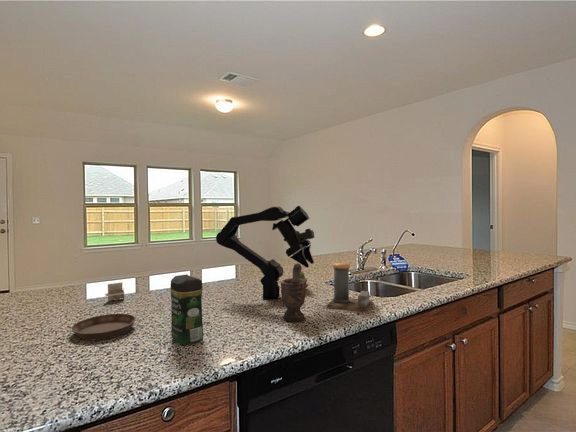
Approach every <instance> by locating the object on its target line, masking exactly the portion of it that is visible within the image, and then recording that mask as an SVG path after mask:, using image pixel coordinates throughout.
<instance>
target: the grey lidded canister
mask: <svg viewBox="0 0 576 432" xmlns="http://www.w3.org/2000/svg"><path fill="white" fill-rule="evenodd" d="M350 267H351V264H350V263H347V262H335V263H332V268H333V298H334V299H333V298H332V299H333V302H341V303H347V302H348V301H349V298H350V296H349V295H350V292H349V291H350V286H349V283H350V281H349V280H350V278H349V277H350V275H349V274H350Z"/></svg>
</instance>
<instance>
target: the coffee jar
mask: <svg viewBox="0 0 576 432" xmlns="http://www.w3.org/2000/svg"><path fill="white" fill-rule="evenodd" d="M202 295H203V282H202V279H200V278H197V277H194V276H191V275H189V274H186V273H185V274H181V275H180V274H179V275H175V276H173V277H172V279H171V280H170V299H171V300H170V301H171V302H170V303H171V304H170V305H171V306H170V307H171V308H170V309H171V327H170V328H171V329H170V333H171V338H172V340H173V341H174V342H176V343H177V344H180V345H193V344H195V343H198V342H200V341H201V340H203V338H204V325H203V324H204V323H203V304H202V302H203V300H202V299H203V298H202V297H203V296H202Z"/></svg>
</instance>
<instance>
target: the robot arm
mask: <svg viewBox="0 0 576 432" xmlns="http://www.w3.org/2000/svg"><path fill="white" fill-rule="evenodd" d="M308 220H310V217H309V214H308V213H307V211H305V209H304V208H302V207H301V205H297V206H296V207H294V209H292V210H291V211H290V212H289V211H285V210H284V208H282V207H281V206H271V207H269V208H266V209H263V210H262V211H259V212H256V213H255V212H254V213H251V214H250V213H249V214H244V215H240V216H239V215H238V216H232V217H230V218H229V220H228V221H227V223H226V224H225V225H224V226H223V228H221V230H220V231H219V232H218V233H216V236H215V241H216V243H217V244H218V245H219V246H222V247H224V248H226V249H229V250H233V251H235V252H236V254H238V255H240V256H241V257H242V258H244V259H245V260H247V261H248V262H250V263H251V264H253V265H254V266H255V267H257V268H258V269H259V270H260V272H261V273H262V275H263V277H262V278H261V279H260V280H259V281H260V284H261V286H262V300H278V299H279V297H280V296H281V291H280V284H279V280H280V278H282V276H283V275H284V267H283V266H282V264H281V263H279V262H278V261H276V260H275V259H274V258H271V259H270V260H268V259H265V258H264V257H262V256H261V255H260V254H258V253H257V252H255V251H254V250H252V249H251V248H249V247H248V246H247V245H245V244H244V243H243V242H241V241H240V240H239V237H238V236H237V233H238V230H239V227H240V226H241V225H246V224H252V223H257V222H273V223H272V229H271V230H272V231H275V230H278V231H279V233H280V234H281V235H282V237H283V241H284V242H286V243H287V245H288V246H289V247H288V248H287V249H286V250H285V254H286V256H287V257H288V258H290V259H292V260H293V261H295V262H297V263H298V264H300V265H301V266H303V267H305V268H306V269H308V268H309V267H310V265H309V263H310V264H311V265H313V264H315V261H314V258H313V256H312V252H311V247H312V245H311V244H312V242H311V241H310V240H311V239H314V238H315V232H314V230H313V229H311V228H305V230H304V232H300V231H298V230H297V229H296V228H295V227H299V226H301V225H302V224H304V223H305V222H307V221H308ZM277 221H278V222H277ZM276 222H277V223H276Z"/></svg>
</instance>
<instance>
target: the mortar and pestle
mask: <svg viewBox="0 0 576 432" xmlns="http://www.w3.org/2000/svg"><path fill="white" fill-rule="evenodd" d="M302 266H303V265H302V264H300V263H299V262H297V263H294V265H293V266H292V267H293V268H292V277H291V278H290V277H289V278H285V279H281V281H280V296H281V301H282V303H283V306H285V307H286V311H285V312H284V314H283V316H282V319H283V320H284V321H286V322H287V321H288V322H293V323H299V322H303V321H304V320H305V319H306V317H305V314H304V312H302V311H301V307H302V306H303V305H304V304H305V300H306V297H307V296H306V295H307V288H306V284H307V282H306V280H304V279H300V278H299V276H300V273H301V272H302V270H303V267H302Z"/></svg>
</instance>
